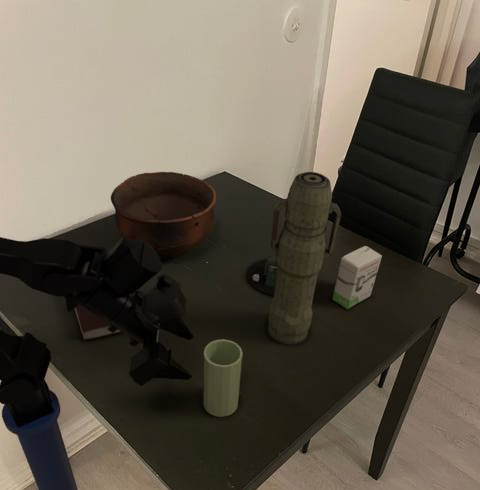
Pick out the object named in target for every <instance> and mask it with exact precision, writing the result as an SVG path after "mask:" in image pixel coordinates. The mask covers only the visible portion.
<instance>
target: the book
mask: <svg viewBox="0 0 480 490" xmlns="http://www.w3.org/2000/svg"><path fill="white" fill-rule="evenodd" d="M86 272H87V271H83V273H82V275H86ZM74 312H75V316H76V319H77V322H78V323H77V324H78V326H79V329H80V333H81V337H82V340H83V341H84V342H85V341H91V340H96V339H100V338H104V337H109V336H113V335H115V334H122V332H121V331H119V330H116V331H115V332H114V333H112V332H110V331H109V330H108V326H109V323H107V322H106V321H104V320H103V319H101V318H100V317H98V316H97V315H95V314H94V313H92V312H91V311H89V310H88V309H86V308H85V307H83V306H82V305H80V304H79V305H78V306H77V307H76V308H75V309H74Z"/></svg>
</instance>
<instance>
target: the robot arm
mask: <svg viewBox="0 0 480 490" xmlns="http://www.w3.org/2000/svg"><path fill="white" fill-rule="evenodd" d="M86 263H88V266H87V269H86V271H85V272H86V275H82V273H84V270H85V267H86ZM162 269H163V264H162V259H160V258H159V256H158V254H157V253H156V251H155V250H154V249H153V248H152V247H151V246H150V245H149V244H148V243H146V242H142V241H140V240H137V239H134V240H130V239H129V238H127V237H126V236H122V237H121V238H120V239H119V240H118V241H117V243H116V244H115V245H114V246H113V247H112V248H111V249H110V250H109V251H108V249H107V248H106V247H101V246H93V245H86V244H78V243H76V242H74V241H71V240H67V239H58V238H45V237H43V238H38V239H31V240H15V239H11V238H8V237H7V238H6V237H1V236H0V275H5V276H10V277H13V278H15V279H18V280H19V281H21V282H22V283H24V284H25V285H26V286H27V287H29V288H31V289H32V290H35V291H38V292H41V293H44V294H46V295H50V296H53V297H60V298H64V300H65V305H66V311H67V312H68V313H72V312H73V311H75V308H76V307H77V306H78V305H79V304H80V305H82V306H83V307H85V308H86V309H88V310H89V311H91V312H92V313H94V314H95V315H97V316H98V317H100V318H101V319H103V320H104V321H106V322H107V323H109V326H108V330H109V331H110V332H112V333H114V332H115V331H116V330H119V331H121V334H123V335H125V336H127V337H129V340H128V344H129V345H130V346H131V347H134V348H135V347H137V345H139V344H141V345H142V348H141V349H140V350H139V351H137V352H136V353H135V354H133V355H132V356H131V358H130V366H129V371H128V374H129V376H128V377H129V380H130V381H132V382H133V383H135V384H137V385H138V386H141V387H143V386H144V385H145V384H147V383H148V382H149V381H151V380H153V379H170V380H182V381H189V380H190V379H192V378H193V374H192V373H191V372H190V371H189V370H188V369H186V368H185V367H184V366H183V365H181V364H180V363H179V362H177V361H176V360H175V359H174V358H173V353H172V351H173V350H172V349H171V348H170V349H168V348H167V346H166V345H165V344H163V343H161V342H159V335H160V330H163V331H164V332H167V333H169V334H172V335H175V336H177V337H179V338H182V339H184V340H187V341H191V340H192V339H194V335H193V333H192V331H191V330H190V329H189V327H188V326H187V325H186V323H185V321H184V320H183V319H182V318H183V317H185V315H186V314H187V313H186V312H187V309H186V305H187V297H186V296H185V294H184V293H183V290H182V282H180V281H177V280H176V279H174V278H173V277H172V276H170V275H169V274H167V273H163V274H160V275H157V274H159V273H160V272H161V271H162ZM156 275H157V278H156V285H154V286H153V287H152V288H151V289H149V290H148V291H147V292H146V293H144V292H142V290H140V288H142V287H143V286H144V285H146V284H147V283H148V282H149V281H150V280H151V279H153V277H155V276H156ZM51 353H52V352H51V351H50V349H49V348H48V347H47V343H46V342H43V341H41V340H39V339H38V338H36V337H35V335H33V334H32V333H30V332H27V331H26V332H25V333H24V334H23V335H13V334H9V333H7V332H5V331H4V330H2V329H1V328H0V404H1V405H4V404H7V405H8V407H9V410H10V412H11V414H12V417H13V419H14V421H15V423H16V426H17V427H21V426H23V425H26V424H28V423H30V422H33V421H35V420H37V419H40V418H42V417H44V416H47V415H49V414H51V413H53V412H54V409H53V407H52V405H51V403H52V401H53V400H52V397H51V394H50V390H51V389H50V387H49V385H48V383H47V381H46V376H47V374H48V373H47V372H48V369H49V366H50V364H51V360H52V354H51ZM50 410H52V411H50Z"/></svg>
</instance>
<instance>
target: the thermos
mask: <svg viewBox="0 0 480 490" xmlns="http://www.w3.org/2000/svg"><path fill="white" fill-rule="evenodd" d="M332 199H333V193H332V184H331V181H330V179H329V178H328V177H327V176H326V175H324V174H322V173H319V172H316V171H305V172H301V173H298V174H297V175H295V177H294V179H293V181H292V183H291V184H290V188H289V191H288V193H287V197H286V198H280V199H279V200H278V201H277V202H276V204H275V205H274V206H273V211H272V224H271V225H272V226H271V234H270V243H269V247H270V249H271V251H272V252H273V253H275V255H276V254H277V257H276V261H277V265H278V269H277V276H276V284H275V292H274V296H273V298H272V299H271V302H270V305H269V311H268V318H267V319H268V324H267V331H268V334H269V336H270V337H271V338H272V339H273V340H274V341H276V342H279V343H280V344H284V345H296V344H300V343H302V342H303V341H305V340H306V339H307V338H308V334H309V330H310V328H311V324H312V319H313V309H312V305H313V300H314V297H315V295H314V294H315V291H316V290H315V289H316V287H317V285H316V284H317V281H318V276H319V272H320V271H321V269H322V267H323V263H324V261H326V258H329V257H333V253H334V250H335V248H336V243H337V238H338V232H339V228H340V225H341V224H340V223H341V220H342V219H341V218H342V212H341V209H340V207H339V205H338V204H337V203H334V202H333V201H332ZM283 208H285V214H284V218H285V221H284V222H283V228H282V230H281V231H280V233H279V236H278V227H279V218H280V212H281V210H282V209H283ZM333 212H334V217H333V222H332V226H331V232H330V237H329V241H328V247H327V235H326V231H327V227H326V225H327V224H328V219H329V216H330V214H333ZM277 236H278V241H277Z"/></svg>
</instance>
